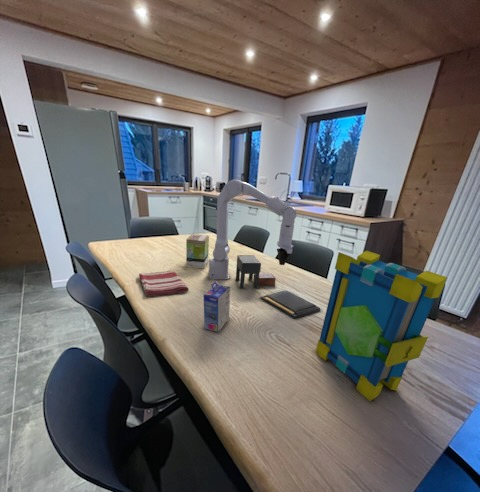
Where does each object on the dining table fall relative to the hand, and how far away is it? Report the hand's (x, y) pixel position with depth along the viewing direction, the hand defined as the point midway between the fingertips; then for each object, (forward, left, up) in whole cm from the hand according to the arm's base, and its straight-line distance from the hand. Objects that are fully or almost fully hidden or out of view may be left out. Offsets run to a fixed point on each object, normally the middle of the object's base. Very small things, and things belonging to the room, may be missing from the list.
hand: (281, 264), depth 123 cm
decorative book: (0, -62, -10) cm, 63 cm away
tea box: (-37, +30, -10) cm, 48 cm away
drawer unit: (-16, 0, -9) cm, 19 cm away
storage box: (-8, 0, -9) cm, 12 cm away
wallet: (-3, -22, -10) cm, 25 cm away
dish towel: (-54, 0, -10) cm, 55 cm away
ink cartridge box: (-34, -35, -10) cm, 50 cm away
